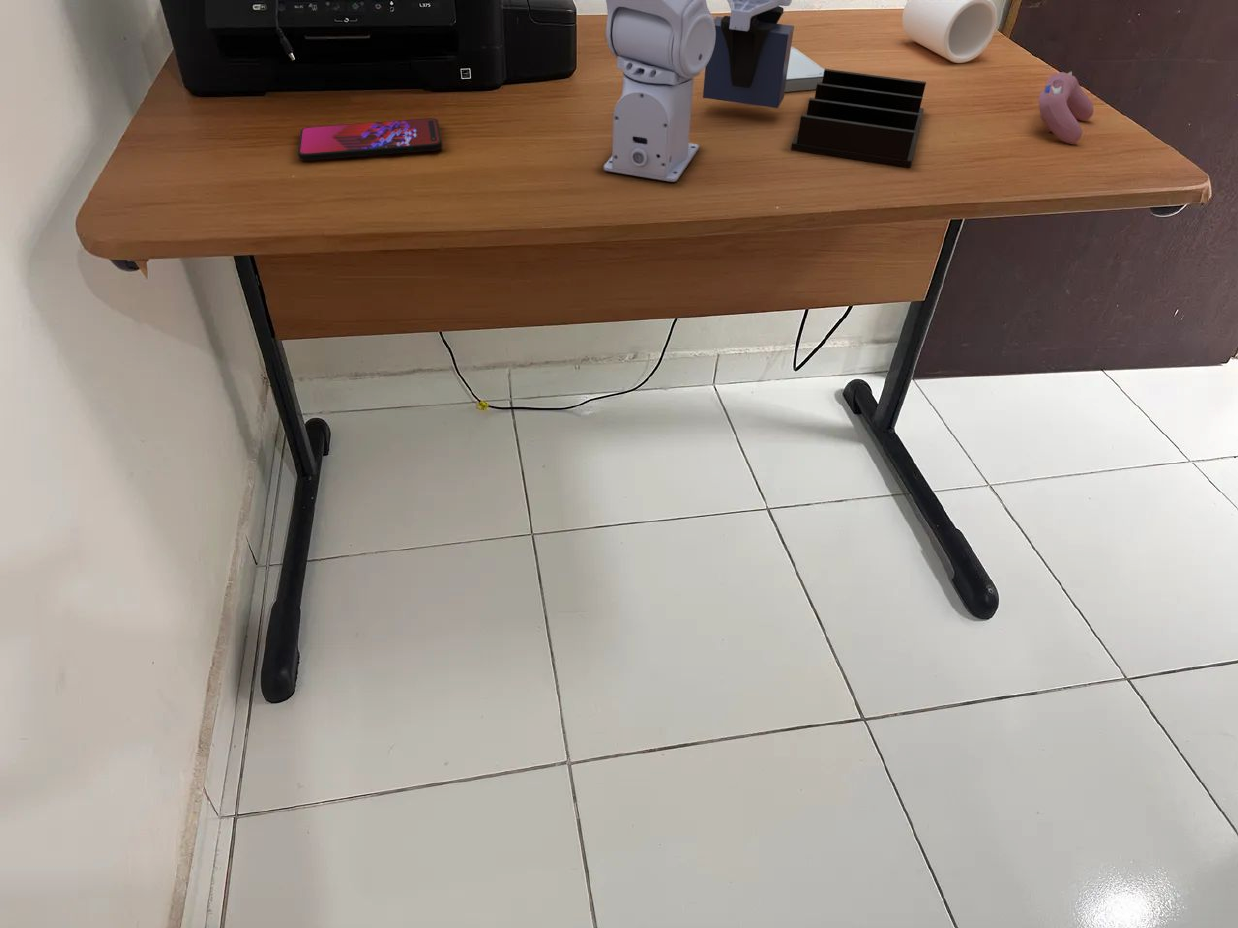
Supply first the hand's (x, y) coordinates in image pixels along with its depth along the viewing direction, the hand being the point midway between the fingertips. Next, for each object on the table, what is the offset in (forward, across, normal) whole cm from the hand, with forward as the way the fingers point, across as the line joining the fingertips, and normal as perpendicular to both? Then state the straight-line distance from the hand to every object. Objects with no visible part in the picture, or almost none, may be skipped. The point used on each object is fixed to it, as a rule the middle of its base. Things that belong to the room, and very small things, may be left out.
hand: (745, 80), depth 101 cm
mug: (+4, +34, -21) cm, 40 cm away
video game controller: (+4, +10, -36) cm, 38 cm away
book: (+2, 0, 0) cm, 2 cm away
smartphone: (+4, -24, +36) cm, 43 cm away
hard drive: (+4, +16, -2) cm, 17 cm away
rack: (+4, 0, -14) cm, 15 cm away
